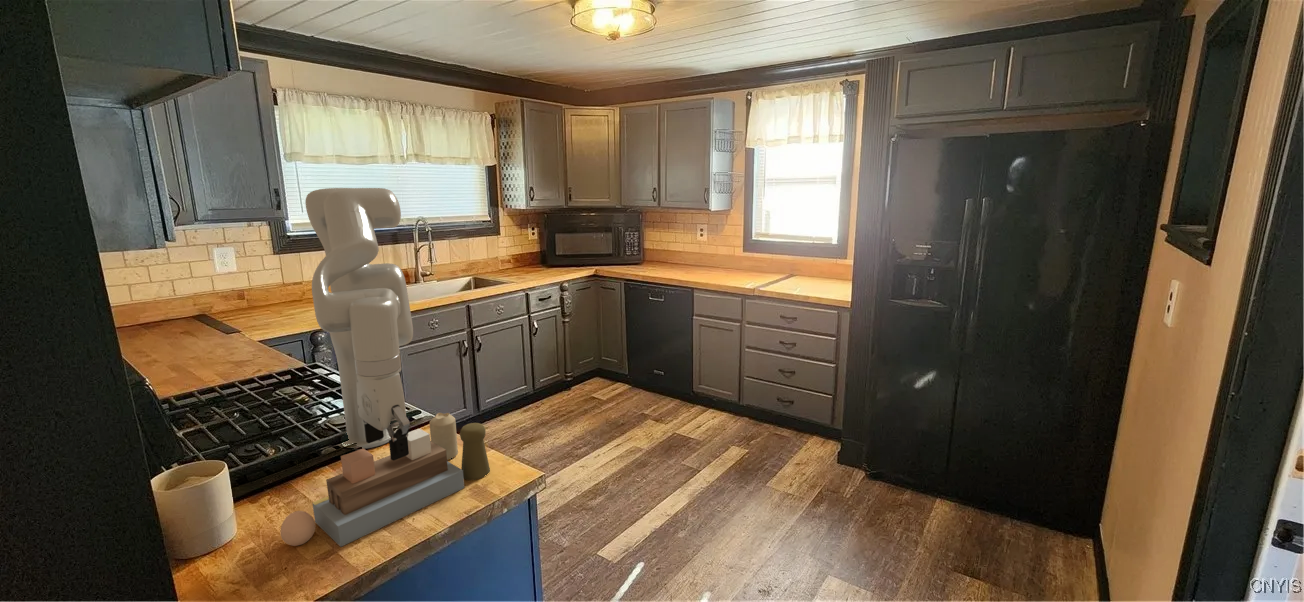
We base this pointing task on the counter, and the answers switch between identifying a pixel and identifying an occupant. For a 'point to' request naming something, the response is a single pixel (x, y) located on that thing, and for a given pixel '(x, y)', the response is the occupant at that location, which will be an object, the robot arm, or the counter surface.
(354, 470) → the salmon pink cube
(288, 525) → the egg
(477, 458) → the olive pepper mill
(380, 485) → the brown wooden bar
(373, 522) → the block
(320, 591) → the counter surface
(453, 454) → the candle
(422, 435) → the white cube
